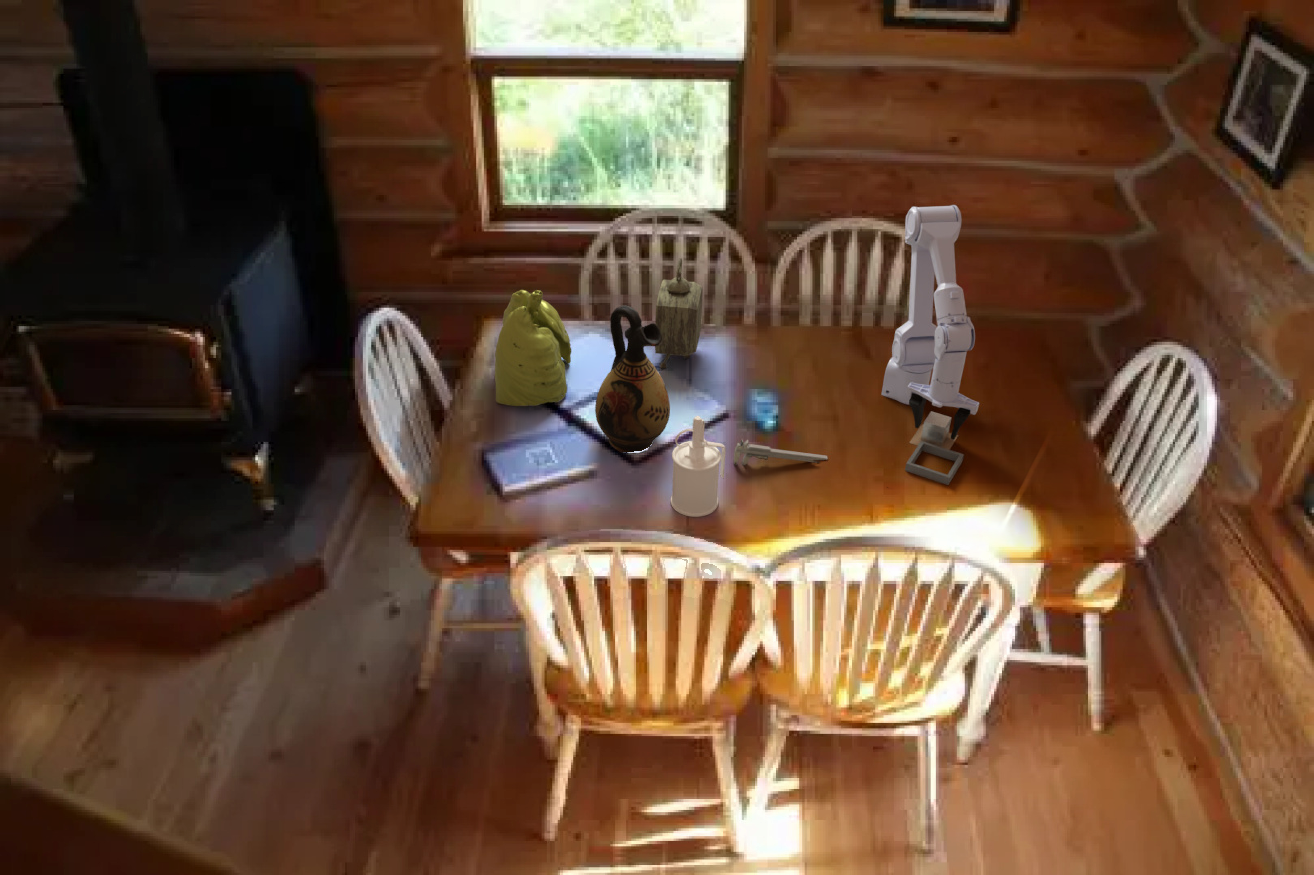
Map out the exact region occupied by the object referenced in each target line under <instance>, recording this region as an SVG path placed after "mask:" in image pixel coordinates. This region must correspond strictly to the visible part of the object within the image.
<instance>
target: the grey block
mask: <svg viewBox="0 0 1314 875" xmlns="http://www.w3.org/2000/svg"><path fill="white" fill-rule="evenodd" d="M951 421H952V417H951V416H948V415H945V414H941V413H938V412H936V411H935V412H934V411H933V410H932V411H930V412H929V414H928V415H927V417H926V419H925V420H924V421H923V424H924V425H923V430H922V436H921V441H924V442H927V443H930V444H933V445H936V446H939V447H942V445H943V443H944V442H945V440H946V439H947V437H948V432H949V433H950V426H951Z"/></svg>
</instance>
